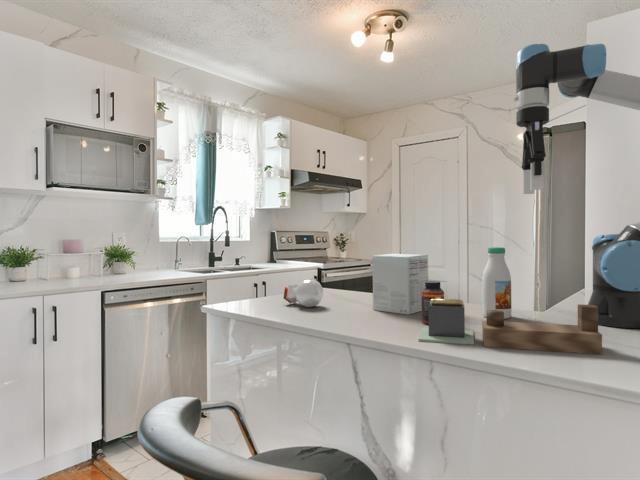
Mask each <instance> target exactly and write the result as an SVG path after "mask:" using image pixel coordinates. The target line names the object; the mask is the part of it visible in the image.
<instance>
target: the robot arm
mask: <svg viewBox="0 0 640 480" xmlns="http://www.w3.org/2000/svg"><path fill="white" fill-rule="evenodd" d="M515 65H516V67H515V78H516V80H515V83H516V87H515V88H516V89H515V90H516V92H515V93H516V97H514V98H513V101H514V102H516V110H517V112H516V114H515V115H516V121H515V122H516V126H517V127H519V128H525V131H524V133H523V134H522V138H523V145H522V162H521V169H522V188H523V189H522V194H523V195H533V194H534V195H535V190H536V191H541V190H544V187H545V185H544V181H545V180H544V174H545V173H544V171H545V170H544V168H545V167H544V166H545V165H544V161H545V158H546V155H547V154H546V149H545V147H546V146H545V138H544V128H543V127H544V126H545V125H547V124H548V123H549V121H550V108H549V106H550V84H557V88H558V91H559V93H560V94H561V95H562V96H563V97H565V98H570V99H572V98H577V97H581V98H586V99H590V100H595V101H599V102H603V103H607V104H611V105H615V106H620V107H624V108H629V109H632V110H637V111H640V76H637V75H631V74H626V73H623V72H622V73H621V72H618V71H613V70H607V69H606V67H607V48H606V45H605V44H604V43H595V44H594V43H593V44H586V45H582V46H576V47H572V48H571V47H570V48H565V49H562V50H561V49H560V50H555V51H550V48H549V45H548V44H545V43H534V44H529V45H526V46H524V47H522V48H520V49H519V50H518V52H517V55H516V64H515ZM592 239H593V240H592V245H591V250H592V293H591V296H590V298H589V300H588V303H587V305H595V306H596V307H598V325H599V326H600V325H601V326H607V327H613V328H621V329H623V328H624V329H640V221H639V222H636V223H628V224H627V225H626V226H625V227H624V228H623V229H622V231H620V232H619V233H611V234H601V235H597V236H595V237H594V238H592Z"/></svg>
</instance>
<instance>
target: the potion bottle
mask: <svg viewBox="0 0 640 480" xmlns="http://www.w3.org/2000/svg"><path fill="white" fill-rule="evenodd" d="M323 298H324V288H323V286H322V285H321V283H320V281H317V280H315V279H313V278H312V279H311V278H309V279H304V280H302V281H301V282H298V283H297V284H294V285H288V286H285V287H284V292H283V299H284V300H285V301H287V302H288V303H289V304H293V305H296V303H297V302H298V304H299V305H301V306H303V307H305V308H307V307H309V308H313V307H317V306H318V305H319V304H321V303H322V300H323Z"/></svg>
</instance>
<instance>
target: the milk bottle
mask: <svg viewBox="0 0 640 480" xmlns="http://www.w3.org/2000/svg"><path fill="white" fill-rule="evenodd" d="M487 255H488V259H487V263H486V265H485V268H484V269H483V272H482V280H481V281H482V285H481V290H482V291H481V293H482V296H481V297H482V298H481V299H482V302H481V303H482V304H481V305H482V307H481V308H482V311H481V312H482V316H483V317H485V318H487V310H500V311H503V312H504V320H505V319H506V320H507V319H510V318H511V317H512V277H511V276H512V275H511V271H510V268H509V267H508V265H507V262H506V259H505V256H506V248H505V247H500V246H493V247H492V246H491V247H488V248H487Z"/></svg>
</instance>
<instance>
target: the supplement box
mask: <svg viewBox="0 0 640 480" xmlns="http://www.w3.org/2000/svg"><path fill="white" fill-rule="evenodd" d="M371 257H372V263H371V264H372V310H373V311H377V312H385V313H394V314H399V315H400V314H402V315H412V314H414V313H418V312H419V313H420V312H422V290H423V289H425V288H426V287H425V282H426V281H429V254H416V253H415V254H413V253H412V254H409V253H386V254H375V255H372V256H371Z"/></svg>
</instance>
